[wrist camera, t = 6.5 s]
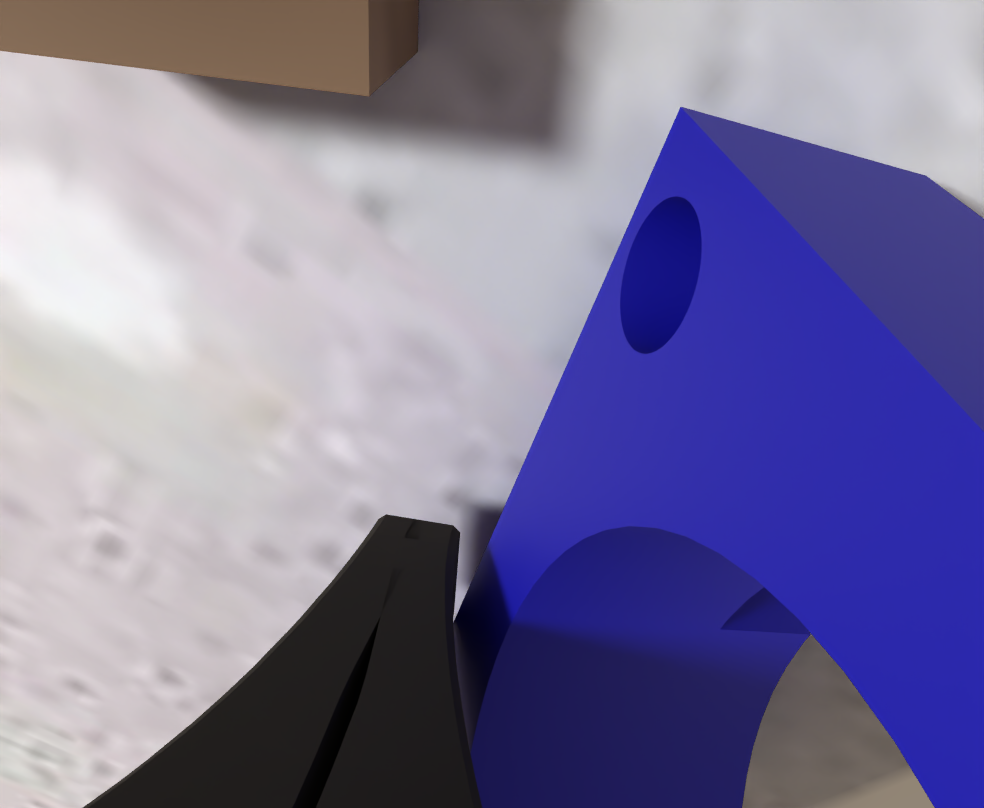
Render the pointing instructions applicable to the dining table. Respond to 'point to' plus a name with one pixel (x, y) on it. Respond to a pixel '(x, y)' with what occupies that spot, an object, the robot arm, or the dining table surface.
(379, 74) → the end blocks
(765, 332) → the blue block with holes
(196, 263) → the dining table surface
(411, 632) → the robot arm
